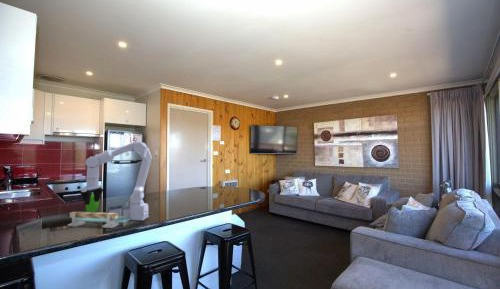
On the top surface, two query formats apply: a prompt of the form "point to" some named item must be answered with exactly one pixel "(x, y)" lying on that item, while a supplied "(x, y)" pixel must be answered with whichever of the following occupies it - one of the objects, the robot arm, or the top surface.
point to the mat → (117, 220)
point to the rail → (94, 215)
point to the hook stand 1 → (76, 221)
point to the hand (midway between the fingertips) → (92, 203)
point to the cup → (92, 205)
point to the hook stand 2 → (110, 222)
